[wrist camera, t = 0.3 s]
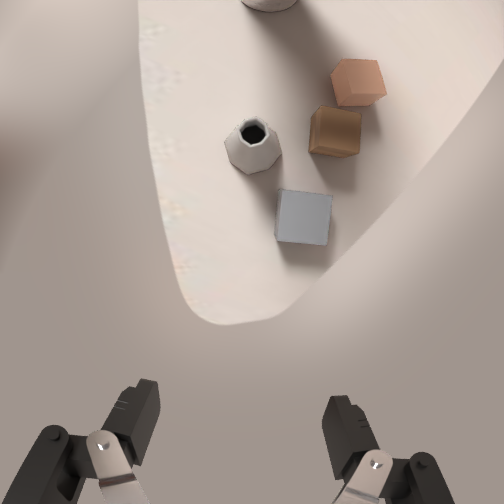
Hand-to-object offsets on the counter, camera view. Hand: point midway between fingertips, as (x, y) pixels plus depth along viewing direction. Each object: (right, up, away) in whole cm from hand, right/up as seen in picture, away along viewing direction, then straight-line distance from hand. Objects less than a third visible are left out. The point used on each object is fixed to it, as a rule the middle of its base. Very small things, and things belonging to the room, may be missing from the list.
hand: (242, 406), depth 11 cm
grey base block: (+7, +12, +26) cm, 29 cm away
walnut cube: (+11, +22, +23) cm, 34 cm away
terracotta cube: (+14, +30, +22) cm, 40 cm away
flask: (+1, +21, +24) cm, 32 cm away
